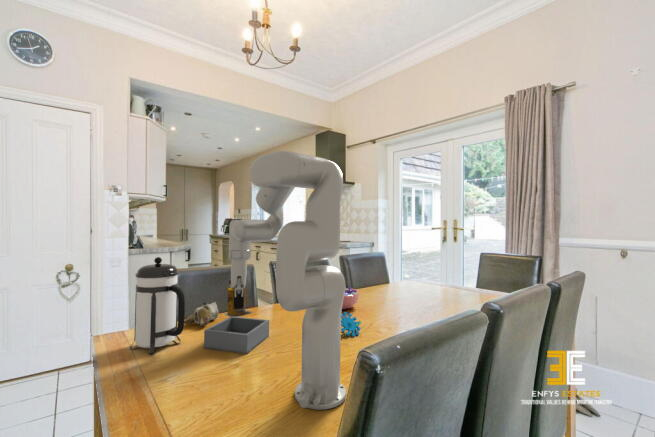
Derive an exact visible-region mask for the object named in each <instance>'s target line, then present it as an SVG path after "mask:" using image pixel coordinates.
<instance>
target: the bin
mask: <svg viewBox="0 0 655 437" xmlns="http://www.w3.org/2000/svg"><path fill="white" fill-rule="evenodd" d="M203 335H204V336H203V349H206V350H207V349H208V350H214V351H215V350H216V351H220V352H221V351H222V352H229V353H237V354H244V355H248V354H249V353H251V352H252V350H254V349H256V347H258V346H259V345H260V344H261V343H263V342H264V341H265V340H266V339H268V338H269V337H270V320H269V319H262V318H252V317H244V316H239V317H235V318H232V317H229V316H228V317H227V318H225V319H223V320H221V321H219V322H218V323H216V324H214V325H211V326H210V327H207V328H206V329H204V331H203Z"/></svg>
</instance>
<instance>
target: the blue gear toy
mask: <svg viewBox="0 0 655 437" xmlns="http://www.w3.org/2000/svg"><path fill="white" fill-rule="evenodd" d="M347 315H348V316H347ZM352 316H353V314H352V313H351V312H349V313H348V312H347V311H344V312H343V313H342V312H341V332H342V333H344V332H346V331H347V332H346V333H345V335H346V336H348V337H349V336H351V337H352V338H353V337H355V336H358V335H359V334H360V332H359V331H360V330H361V329H362V328H361V326H360V325H361V324H362V321H361V320H359V321H357V320H358V319H357V316H354V317H352Z"/></svg>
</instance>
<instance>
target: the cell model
mask: <svg viewBox="0 0 655 437" xmlns="http://www.w3.org/2000/svg"><path fill="white" fill-rule="evenodd" d="M359 292H360V291H359V290H358V289H356V288H353V287H351V286H348V288H347V287H345V295H344V299H343V305H342V310H347V309H350V308H352V307H354V306H355V305H357V303H358V301H359V299H360V298H359V295H360V293H359Z"/></svg>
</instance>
